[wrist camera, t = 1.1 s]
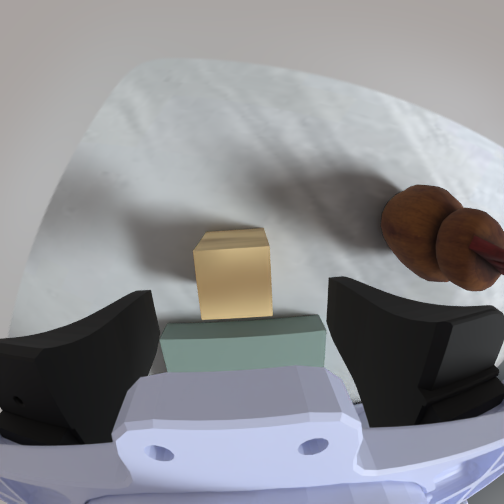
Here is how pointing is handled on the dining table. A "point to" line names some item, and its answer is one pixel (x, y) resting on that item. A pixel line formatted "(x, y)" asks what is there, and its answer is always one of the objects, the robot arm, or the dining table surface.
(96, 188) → the dining table surface
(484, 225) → the wooden figurine
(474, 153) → the dining table surface
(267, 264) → the block
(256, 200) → the dining table surface
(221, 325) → the green flat slab
